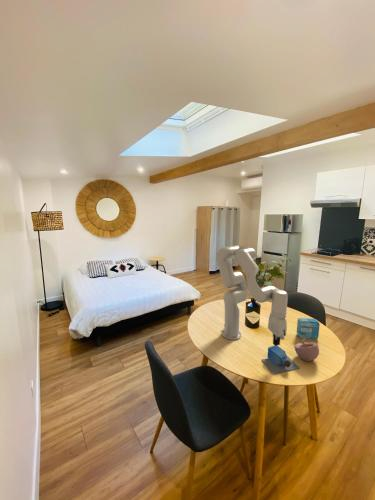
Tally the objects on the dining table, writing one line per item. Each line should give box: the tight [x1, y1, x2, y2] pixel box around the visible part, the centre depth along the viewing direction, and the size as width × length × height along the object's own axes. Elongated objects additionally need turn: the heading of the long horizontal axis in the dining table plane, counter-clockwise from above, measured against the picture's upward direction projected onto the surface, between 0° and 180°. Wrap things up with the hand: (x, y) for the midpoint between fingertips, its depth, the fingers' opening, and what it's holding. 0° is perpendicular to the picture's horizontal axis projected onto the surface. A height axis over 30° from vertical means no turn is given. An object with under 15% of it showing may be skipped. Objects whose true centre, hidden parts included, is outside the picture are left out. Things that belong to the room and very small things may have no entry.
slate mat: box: [260, 355, 301, 375], centre depth 122 cm, size 11×16×1 cm
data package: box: [296, 317, 321, 340], centre depth 147 cm, size 12×4×12 cm, turn 81°
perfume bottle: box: [267, 345, 291, 367], centre depth 122 cm, size 6×6×12 cm
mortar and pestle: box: [294, 338, 320, 362], centre depth 125 cm, size 12×12×11 cm
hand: (276, 344), depth 122 cm, fingers closed
